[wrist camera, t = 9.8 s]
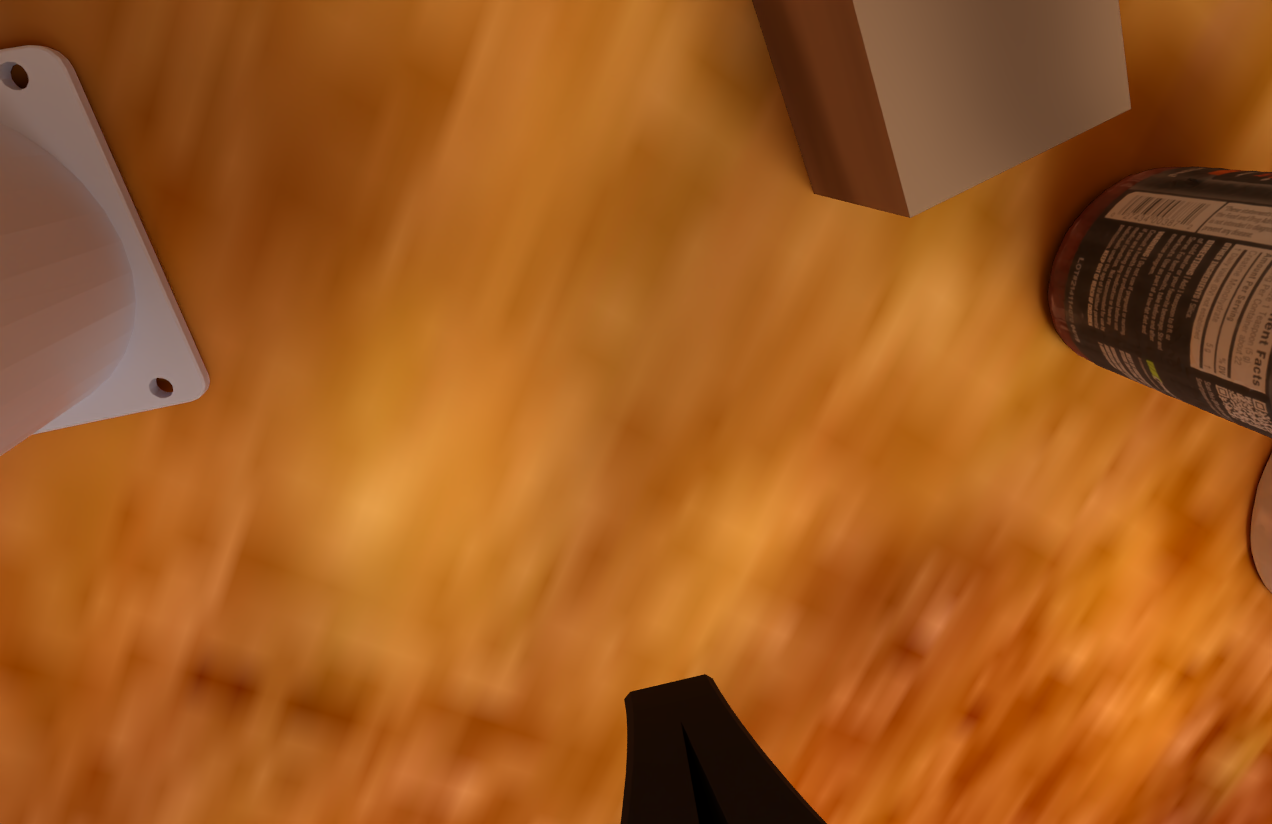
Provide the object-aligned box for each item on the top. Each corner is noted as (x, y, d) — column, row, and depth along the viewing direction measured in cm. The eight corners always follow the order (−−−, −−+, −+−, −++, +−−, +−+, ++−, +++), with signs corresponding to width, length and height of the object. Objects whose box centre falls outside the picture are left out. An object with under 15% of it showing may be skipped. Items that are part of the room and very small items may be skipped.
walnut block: (812, 193, 19) (909, 218, 15) (749, -4, 17) (840, -46, 13) (980, 110, 19) (1131, 108, 15) (938, -97, 17) (1098, -175, 12)
